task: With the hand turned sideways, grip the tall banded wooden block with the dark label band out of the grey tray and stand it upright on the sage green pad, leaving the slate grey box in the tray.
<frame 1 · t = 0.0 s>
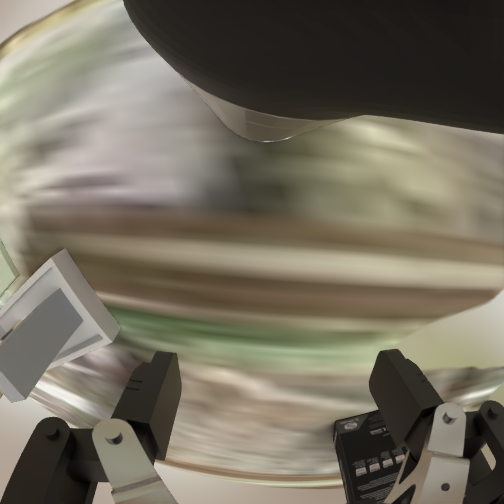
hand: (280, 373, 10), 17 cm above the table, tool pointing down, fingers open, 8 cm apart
graphics card box: (376, 416, 38), on the table
parts tray: (44, 321, 30), on the table
slate box: (61, 310, 28), point 1 cm above the table, touching parts tray
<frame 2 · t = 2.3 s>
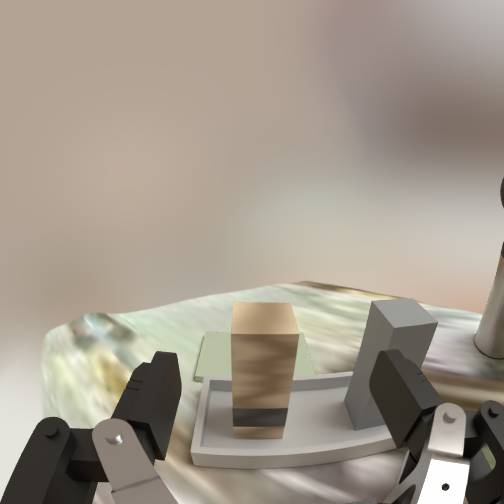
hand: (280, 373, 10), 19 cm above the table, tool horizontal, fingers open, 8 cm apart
parts tray: (313, 424, 26), on the table
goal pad: (255, 358, 39), on the table
banded wooden block: (257, 422, 26), point 1 cm above the table, touching parts tray
slate box: (368, 412, 26), point 1 cm above the table, touching parts tray
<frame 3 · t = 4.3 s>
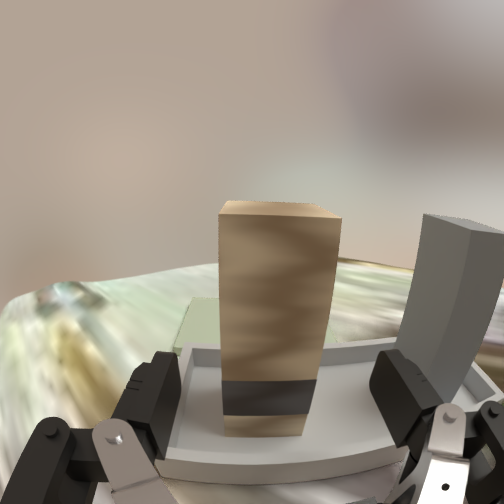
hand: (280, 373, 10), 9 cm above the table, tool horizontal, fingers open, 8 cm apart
parts tray: (344, 412, 18), on the table
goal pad: (256, 328, 30), on the table
banded wooden block: (262, 411, 17), point 1 cm above the table, touching parts tray
slate box: (417, 391, 18), point 1 cm above the table, touching parts tray
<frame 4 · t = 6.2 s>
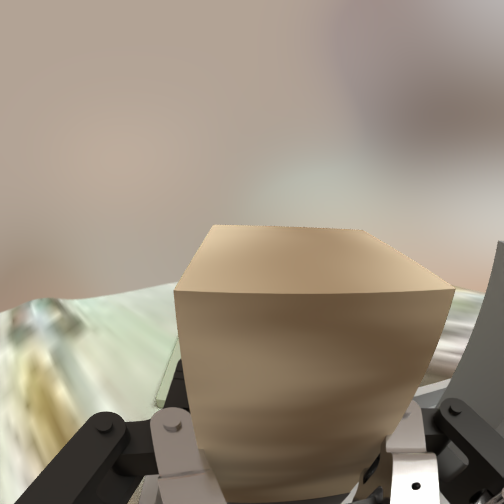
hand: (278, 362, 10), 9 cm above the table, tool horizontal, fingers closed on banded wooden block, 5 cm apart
parts tray: (370, 485, 11), on the table
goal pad: (260, 369, 23), on the table
banded wooden block: (268, 495, 10), point 1 cm above the table, touching gripper, parts tray
slate box: (454, 450, 11), point 1 cm above the table, touching parts tray
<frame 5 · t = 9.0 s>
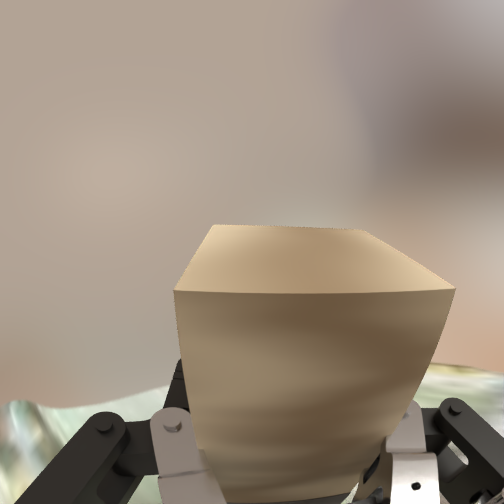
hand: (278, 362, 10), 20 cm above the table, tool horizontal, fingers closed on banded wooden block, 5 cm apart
banded wooden block: (268, 495, 10), point 11 cm above the table, touching gripper
when the fingers open (10 cm above the table, at t = 11.6 s): banded wooden block stays where it is, resting on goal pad.
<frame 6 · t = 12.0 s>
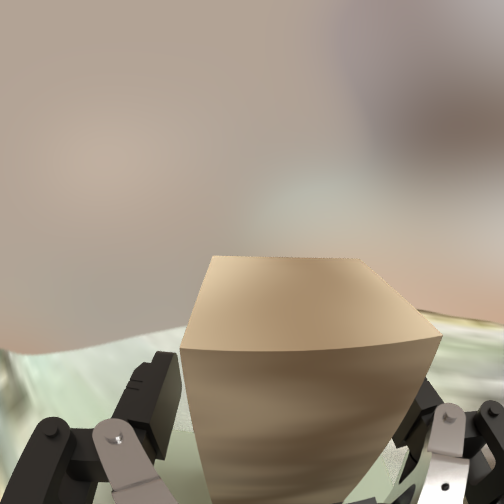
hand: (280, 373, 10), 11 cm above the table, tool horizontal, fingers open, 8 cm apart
banded wooden block: (267, 501, 11), point 1 cm above the table, touching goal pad
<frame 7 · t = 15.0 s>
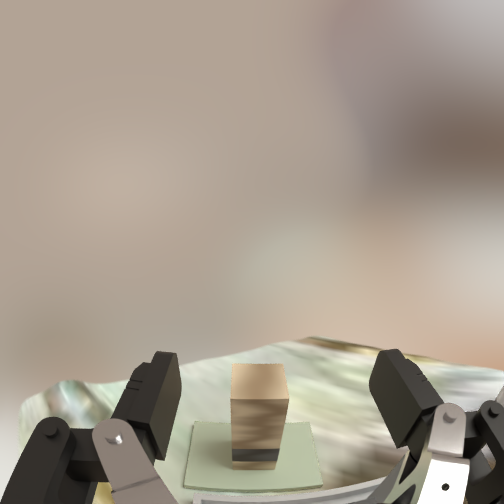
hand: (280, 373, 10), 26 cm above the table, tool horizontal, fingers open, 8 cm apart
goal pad: (252, 458, 27), on the table
banded wooden block: (253, 454, 27), point 1 cm above the table, touching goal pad
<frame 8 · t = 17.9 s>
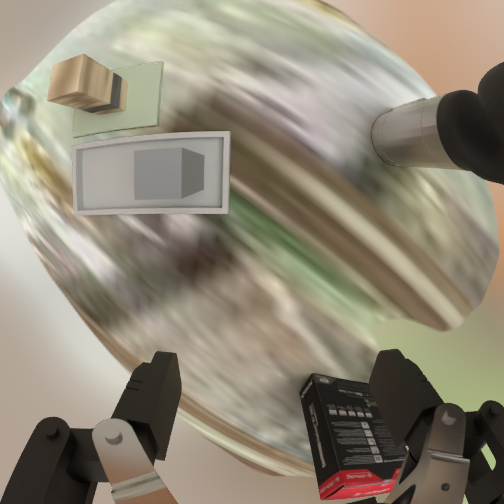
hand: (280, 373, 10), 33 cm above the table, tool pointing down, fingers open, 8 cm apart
graphics card box: (337, 387, 52), on the table
parts tray: (148, 174, 39), on the table
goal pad: (115, 99, 35), on the table
banded wooden block: (113, 98, 34), point 1 cm above the table, touching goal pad
slate box: (187, 172, 38), point 1 cm above the table, touching parts tray
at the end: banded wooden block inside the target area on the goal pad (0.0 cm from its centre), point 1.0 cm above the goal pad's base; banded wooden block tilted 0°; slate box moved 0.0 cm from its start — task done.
